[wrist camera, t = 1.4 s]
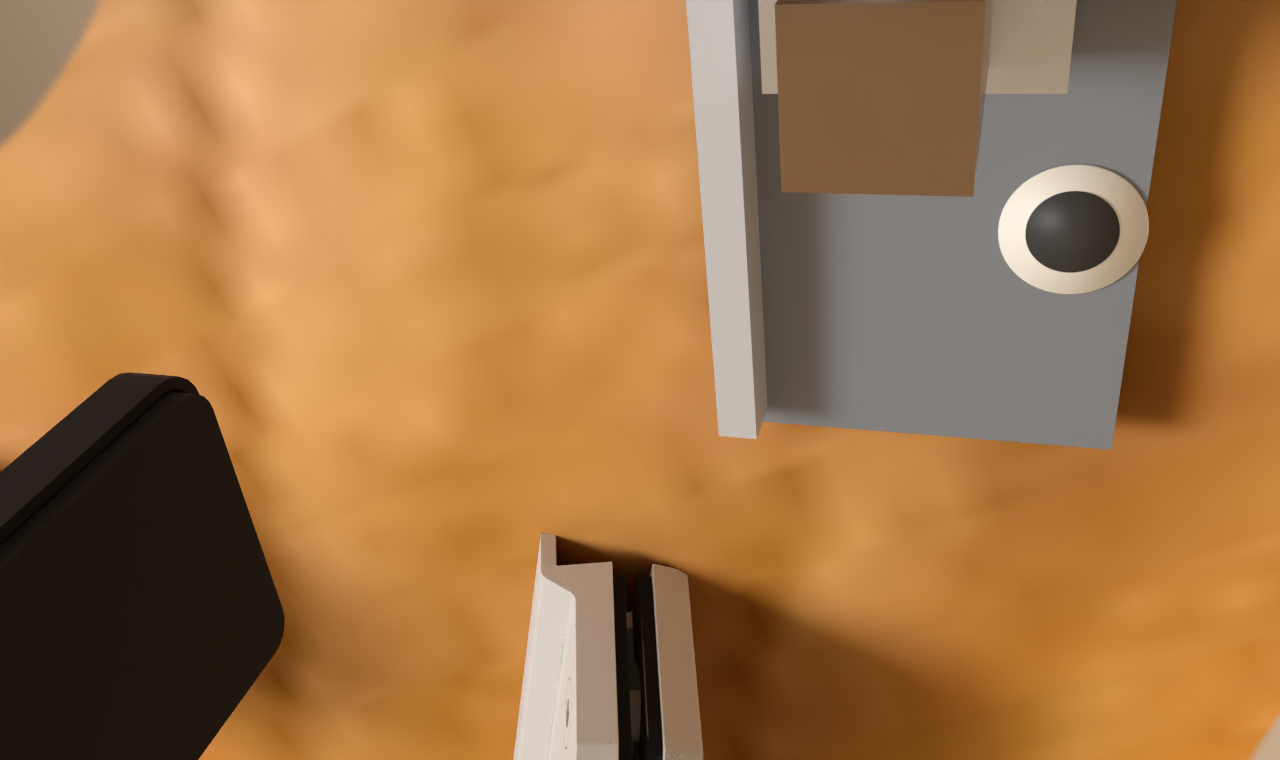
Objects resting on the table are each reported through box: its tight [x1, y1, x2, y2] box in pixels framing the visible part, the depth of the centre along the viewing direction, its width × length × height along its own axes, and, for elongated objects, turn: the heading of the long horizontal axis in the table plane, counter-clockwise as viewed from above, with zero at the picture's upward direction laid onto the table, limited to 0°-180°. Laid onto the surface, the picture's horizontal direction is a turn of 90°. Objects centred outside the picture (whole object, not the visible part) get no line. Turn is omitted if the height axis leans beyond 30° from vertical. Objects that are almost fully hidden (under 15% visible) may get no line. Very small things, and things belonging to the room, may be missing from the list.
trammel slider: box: [758, 0, 1077, 197], centre depth 21 cm, size 4×9×8 cm, turn 96°
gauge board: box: [686, 0, 1177, 450], centre depth 25 cm, size 18×10×6 cm, turn 6°
